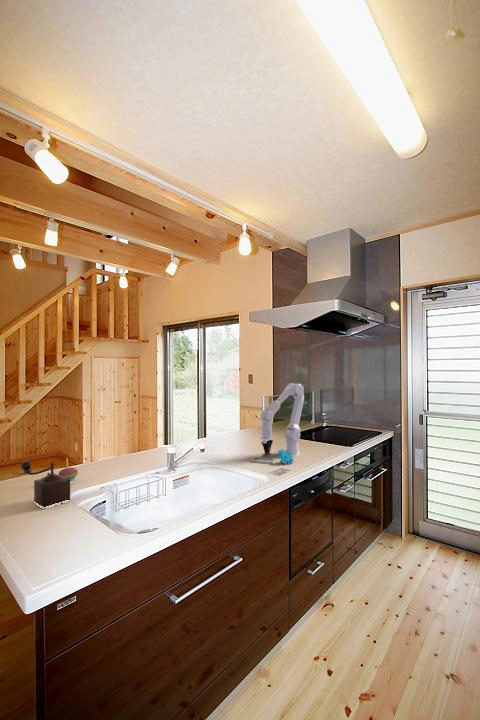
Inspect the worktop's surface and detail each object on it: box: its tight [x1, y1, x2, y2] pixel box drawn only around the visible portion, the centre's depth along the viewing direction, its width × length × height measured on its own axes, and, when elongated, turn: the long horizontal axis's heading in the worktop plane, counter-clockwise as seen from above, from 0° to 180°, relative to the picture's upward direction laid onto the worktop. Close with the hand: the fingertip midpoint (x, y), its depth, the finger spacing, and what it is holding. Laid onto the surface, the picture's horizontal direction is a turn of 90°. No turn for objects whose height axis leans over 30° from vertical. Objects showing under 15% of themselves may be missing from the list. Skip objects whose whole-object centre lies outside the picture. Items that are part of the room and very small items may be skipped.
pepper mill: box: [20, 460, 71, 507], centre depth 139 cm, size 16×11×18 cm
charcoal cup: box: [261, 452, 274, 458], centre depth 205 cm, size 6×6×2 cm
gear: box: [277, 448, 295, 466], centre depth 194 cm, size 11×6×10 cm
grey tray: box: [250, 456, 276, 465], centre depth 197 cm, size 8×12×1 cm
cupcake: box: [57, 458, 79, 482], centre depth 164 cm, size 9×8×12 cm
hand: (267, 453), depth 205 cm, fingers closed on oak pin, 3 cm apart
